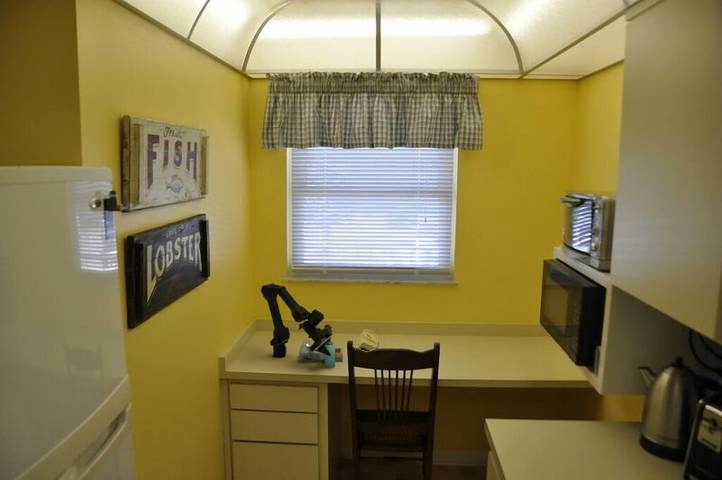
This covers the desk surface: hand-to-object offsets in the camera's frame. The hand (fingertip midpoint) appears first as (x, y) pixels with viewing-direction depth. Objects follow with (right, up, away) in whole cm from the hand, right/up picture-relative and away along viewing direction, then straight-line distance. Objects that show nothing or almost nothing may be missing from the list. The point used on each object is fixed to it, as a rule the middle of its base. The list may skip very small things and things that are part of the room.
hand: (332, 353), depth 261 cm
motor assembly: (-7, -5, +12) cm, 15 cm away
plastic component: (+18, -3, +31) cm, 36 cm away
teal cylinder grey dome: (-1, -6, +1) cm, 7 cm away
